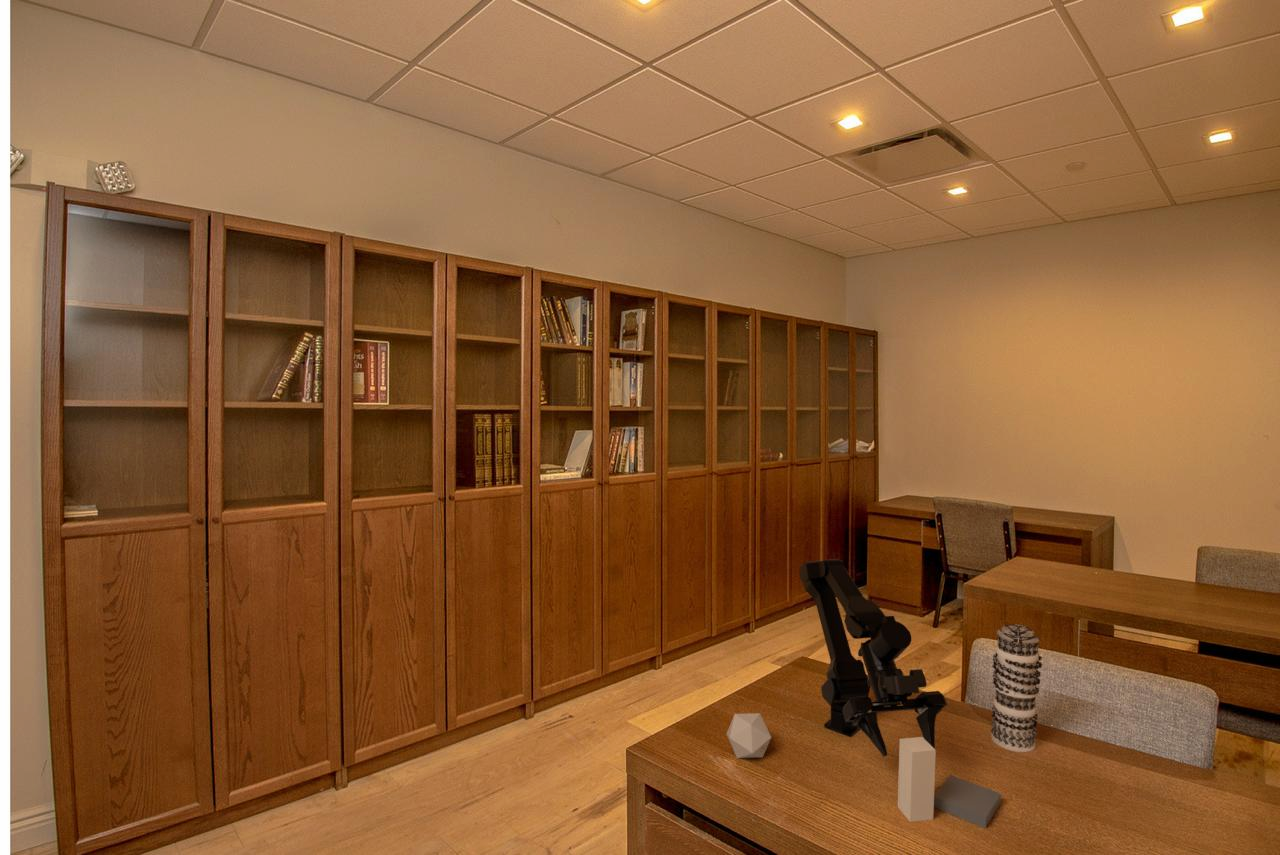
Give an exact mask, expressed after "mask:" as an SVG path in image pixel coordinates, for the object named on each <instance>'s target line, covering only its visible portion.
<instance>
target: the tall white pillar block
mask: <svg viewBox="0 0 1280 855" xmlns="http://www.w3.org/2000/svg"><path fill="white" fill-rule="evenodd" d="M898 749H899V751H898V752H899V754H898V777H897V778H898V780H897V781H898V784H897V807H898V809H899V810H900V811H901V813H902V814H903V815H904V816H905V818H906V819H907V820H908V821H909V823H912V822H921V821H928V820H929V821H930V820H931V821H932V820H934V811H935V810H934V809H935V807H934V795H935V777H936V754H937V752H936V748H935V749H934V748H933V747H932V746H931V745H930V744H929V743H928V742H927V741H926V740H925V739H924V737H923V736H917V737H906V738H899V748H898Z"/></svg>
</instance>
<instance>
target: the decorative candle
mask: <svg viewBox="0 0 1280 855" xmlns="http://www.w3.org/2000/svg"><path fill="white" fill-rule="evenodd" d="M995 633H996V634H997V644H996V651H995V654H993V655H992V661H993V663H992V666H991V667H992V669H994V670H993V674H992V678H993V680H992V684H993V688H994V689H995V696H994V700H993V704H992V707H991V710H992V713H991V717H992V720H991V722H990V724H991V728H990V732H991V735H990V739H991V740H992V742H993V743H994V744H996V745H997V746H998V747H1001V748H1002V749H1005V750H1007V751H1011V752H1014V753H1015V752H1016V753H1031V752H1033V751H1035V750H1036V746H1037V743H1036V742H1037V738H1038V737H1037V732H1038V730H1037V729H1036V728H1037V726H1038V721H1037V720H1038V714H1037V713H1036V712H1037V705H1036V701H1037V700H1036V697H1038V695H1039V692H1040V689H1039V687H1038V686H1037V685H1040V684H1041V679H1040V678H1039V677H1041V672H1040V671H1039V669H1041V668H1042V666H1043V663H1042V662H1041V661H1042V659H1043V657H1042V656H1041V655H1040V652H1039V642H1040V641H1041V638H1040V636H1039V635H1037V634H1036V632H1035V631H1034V630H1033V629H1032V628H1030V627H1029V626H1025V625H1022V624H1017V623H1016V624H1015V623H1010V624H1009V623H1008V624H1006V625H1002V627H1001V628H1000V629H997V631H996V632H995Z"/></svg>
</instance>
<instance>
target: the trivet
mask: <svg viewBox="0 0 1280 855" xmlns="http://www.w3.org/2000/svg"><path fill="white" fill-rule="evenodd" d="M1001 796H1002V793H1001V792H998V791H995V790H993V789H990V788H987V787H985V786H981V785H979V784H976V783H974V782H972V781H970V780H969V781H968V780H966V779H963V778H961V777H957V776H956V775H953V774H949V776H947V778H946V779H945V781H944V782H943V783H942V785H940V787H939V789H938V790H936V792H935V793H934V809H937V810H940V811H942V812H945V813H947V814H950V815H952V816H955V817H957V818H959V819H962V820H964V821H967V822H970V823H972V824H974V825H977V826H979V827H981V828H984V829H987V827H988V825H989V824H990V822H991V820H992V818H993V817H994V815H995V813H996V812H997V810H998V808H999V807H1000V806H1001V804H1002V803H1001V800H1002V797H1001Z"/></svg>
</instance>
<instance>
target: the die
mask: <svg viewBox="0 0 1280 855" xmlns="http://www.w3.org/2000/svg"><path fill="white" fill-rule="evenodd" d="M726 737H727V738H728V740H729V743H730V746H731V748H732V750H733V753H734V754H735V757H736V759H755V758H756V759H761V758H764V755H765V752H766V750H767V749H768V746H769V744H770V741H771V739H772V736H771V733H770V732H769V729H768V727H767V725H766V723H765V721H764V719H763V717H762V714H761V713H760V712H759V713H758V712H757V713H734V715H733V717H732V720H731V721H730V725H729V727H728V729H727V732H726Z"/></svg>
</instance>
